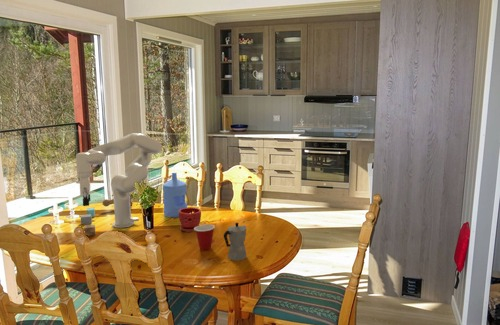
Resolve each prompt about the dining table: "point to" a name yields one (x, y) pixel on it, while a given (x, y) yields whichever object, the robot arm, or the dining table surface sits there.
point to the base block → (86, 219)
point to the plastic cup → (204, 236)
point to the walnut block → (89, 230)
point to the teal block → (91, 211)
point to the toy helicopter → (108, 202)
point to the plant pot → (189, 219)
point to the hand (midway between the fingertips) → (86, 203)
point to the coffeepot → (236, 242)
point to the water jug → (174, 196)
